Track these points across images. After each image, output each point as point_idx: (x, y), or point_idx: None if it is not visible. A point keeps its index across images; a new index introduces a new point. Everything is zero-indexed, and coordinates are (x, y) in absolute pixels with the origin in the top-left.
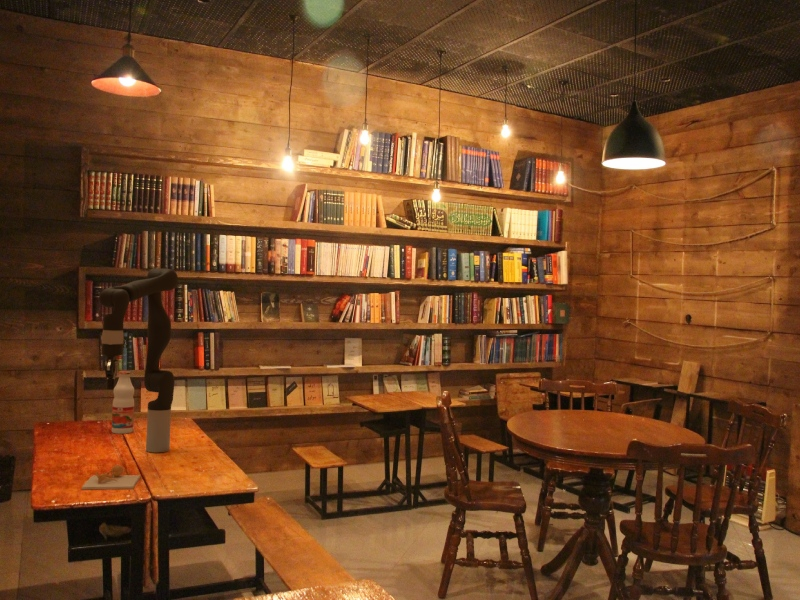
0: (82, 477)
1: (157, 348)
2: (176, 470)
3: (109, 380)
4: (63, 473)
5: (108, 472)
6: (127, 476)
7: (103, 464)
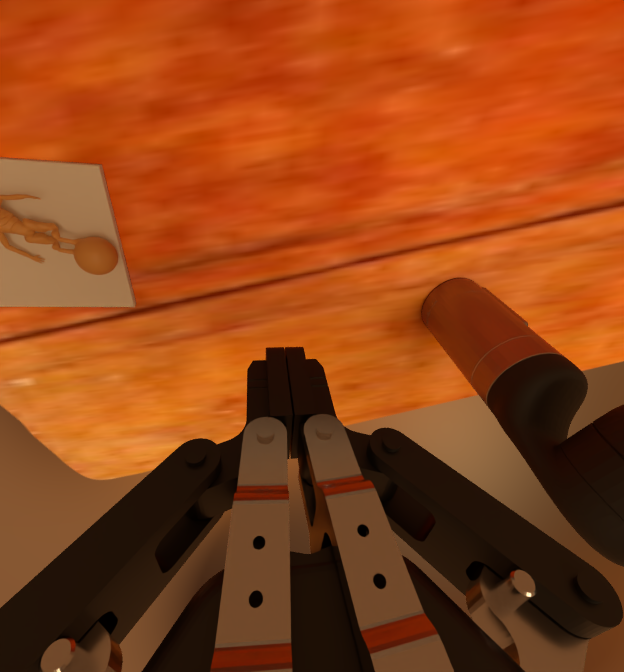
0: (102, 126)
1: None
2: (223, 367)
3: (246, 425)
4: (154, 25)
5: (52, 235)
6: (112, 277)
7: (301, 175)
